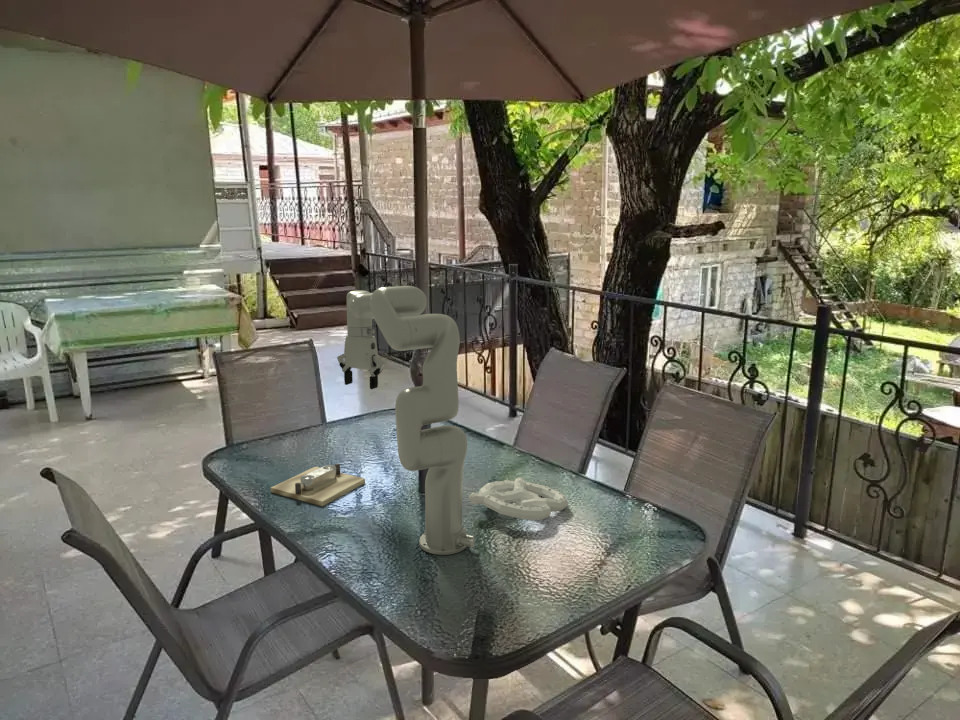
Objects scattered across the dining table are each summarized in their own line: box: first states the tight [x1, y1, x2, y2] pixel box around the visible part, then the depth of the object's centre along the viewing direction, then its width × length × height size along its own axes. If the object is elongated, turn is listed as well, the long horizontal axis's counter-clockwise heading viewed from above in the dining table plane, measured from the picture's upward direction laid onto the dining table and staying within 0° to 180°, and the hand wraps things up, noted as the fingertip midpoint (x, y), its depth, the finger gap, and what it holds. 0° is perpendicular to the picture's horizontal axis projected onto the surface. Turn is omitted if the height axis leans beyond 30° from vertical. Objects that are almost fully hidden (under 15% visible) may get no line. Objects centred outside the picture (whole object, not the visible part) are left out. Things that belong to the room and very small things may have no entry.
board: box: [270, 463, 366, 507], centre depth 215 cm, size 20×20×4 cm
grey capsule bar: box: [301, 464, 336, 491], centre depth 215 cm, size 4×14×4 cm, turn 152°
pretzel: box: [468, 477, 568, 521], centre depth 203 cm, size 28×24×6 cm
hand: (361, 386), depth 217 cm, fingers open, 9 cm apart
